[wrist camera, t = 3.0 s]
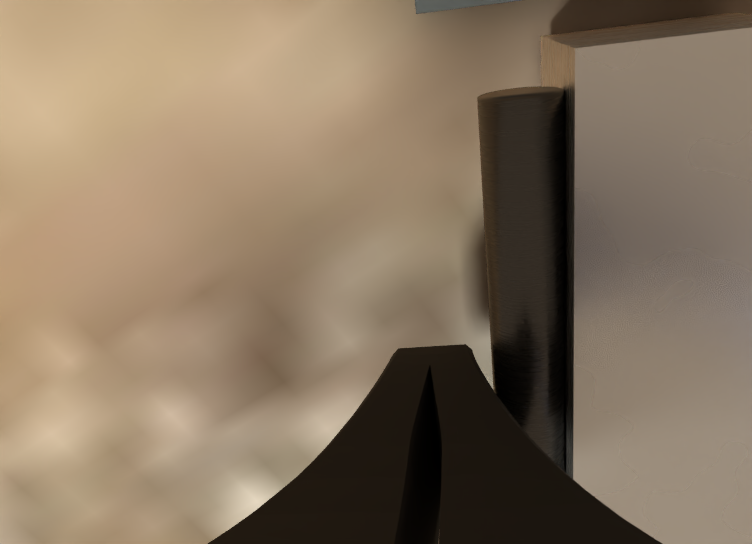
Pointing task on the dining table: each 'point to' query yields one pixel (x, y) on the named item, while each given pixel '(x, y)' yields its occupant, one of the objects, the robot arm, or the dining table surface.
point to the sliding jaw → (630, 268)
